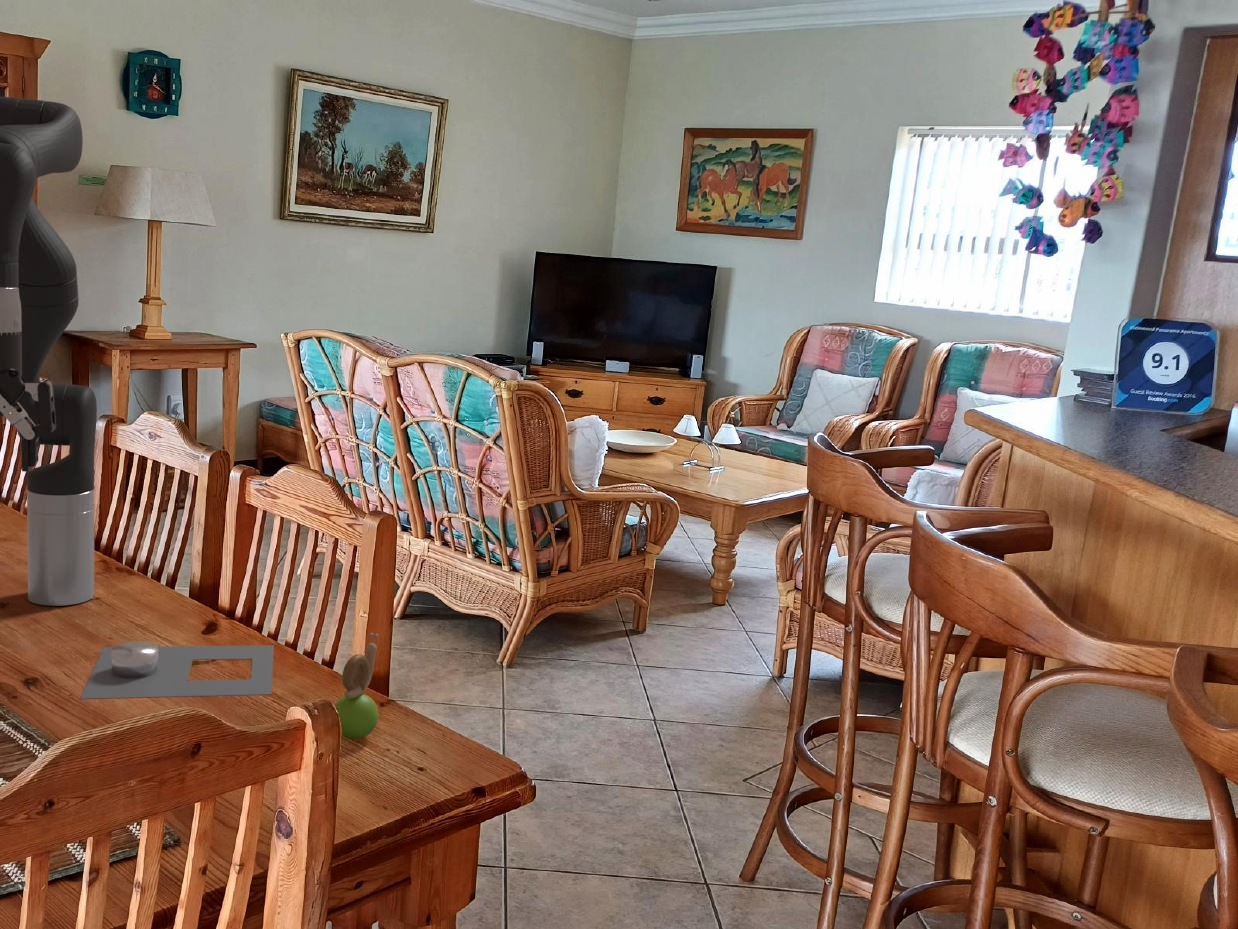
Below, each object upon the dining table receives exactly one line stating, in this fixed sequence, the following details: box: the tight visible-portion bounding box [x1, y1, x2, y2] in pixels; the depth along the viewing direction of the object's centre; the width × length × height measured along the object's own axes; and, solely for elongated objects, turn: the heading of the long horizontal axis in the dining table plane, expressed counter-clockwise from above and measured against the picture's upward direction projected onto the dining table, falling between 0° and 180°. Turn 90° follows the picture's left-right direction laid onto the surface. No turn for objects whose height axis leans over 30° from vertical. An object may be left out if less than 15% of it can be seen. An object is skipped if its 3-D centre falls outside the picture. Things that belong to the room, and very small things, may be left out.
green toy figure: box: [334, 632, 380, 740], centre depth 136 cm, size 5×6×12 cm
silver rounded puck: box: [112, 640, 159, 679], centre depth 147 cm, size 6×6×3 cm
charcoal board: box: [79, 644, 275, 700], centre depth 149 cm, size 22×18×2 cm
